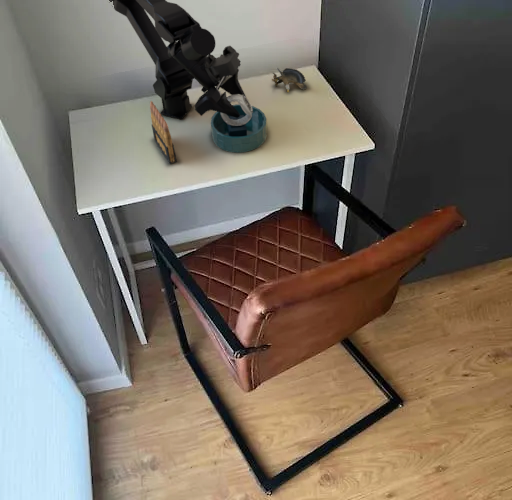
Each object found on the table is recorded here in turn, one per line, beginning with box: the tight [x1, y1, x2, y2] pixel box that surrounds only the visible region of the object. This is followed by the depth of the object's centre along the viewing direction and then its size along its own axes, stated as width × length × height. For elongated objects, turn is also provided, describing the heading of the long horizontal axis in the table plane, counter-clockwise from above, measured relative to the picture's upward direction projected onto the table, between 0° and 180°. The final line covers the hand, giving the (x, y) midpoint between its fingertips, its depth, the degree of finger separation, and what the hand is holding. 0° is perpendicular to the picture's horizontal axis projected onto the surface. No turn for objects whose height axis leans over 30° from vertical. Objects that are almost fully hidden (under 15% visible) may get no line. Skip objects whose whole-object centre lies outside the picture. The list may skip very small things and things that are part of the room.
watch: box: [220, 94, 253, 137], centre depth 142 cm, size 6×8×11 cm
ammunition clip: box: [149, 100, 178, 165], centre depth 139 cm, size 11×2×12 cm, turn 27°
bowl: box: [210, 103, 268, 154], centre depth 145 cm, size 14×14×4 cm
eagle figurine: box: [271, 66, 308, 93], centre depth 158 cm, size 8×7×9 cm
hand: (242, 109), depth 141 cm, fingers closed on watch, 6 cm apart
